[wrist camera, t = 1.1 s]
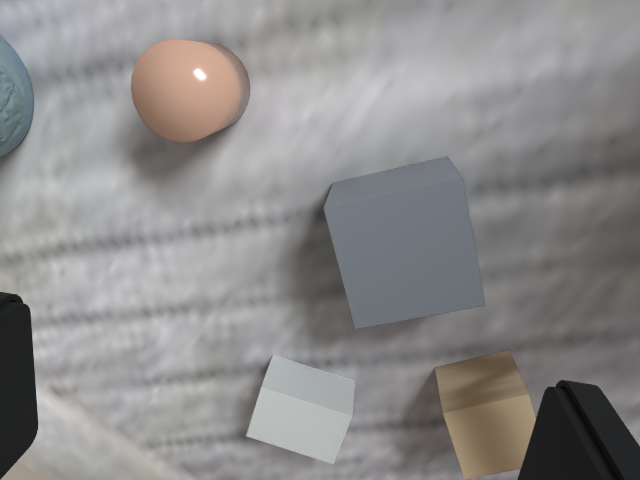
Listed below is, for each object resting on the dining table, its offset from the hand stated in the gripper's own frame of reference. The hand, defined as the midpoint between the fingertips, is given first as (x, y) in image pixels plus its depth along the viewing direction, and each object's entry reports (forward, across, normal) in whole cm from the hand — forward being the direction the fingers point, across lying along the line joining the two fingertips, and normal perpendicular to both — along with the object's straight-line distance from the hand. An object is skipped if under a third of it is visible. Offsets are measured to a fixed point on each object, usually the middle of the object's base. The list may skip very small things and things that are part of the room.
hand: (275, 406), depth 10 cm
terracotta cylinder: (+24, +9, -3) cm, 26 cm away
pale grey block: (+24, +1, +16) cm, 29 cm away
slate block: (+24, -4, +3) cm, 25 cm away
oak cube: (+24, -11, +14) cm, 30 cm away
